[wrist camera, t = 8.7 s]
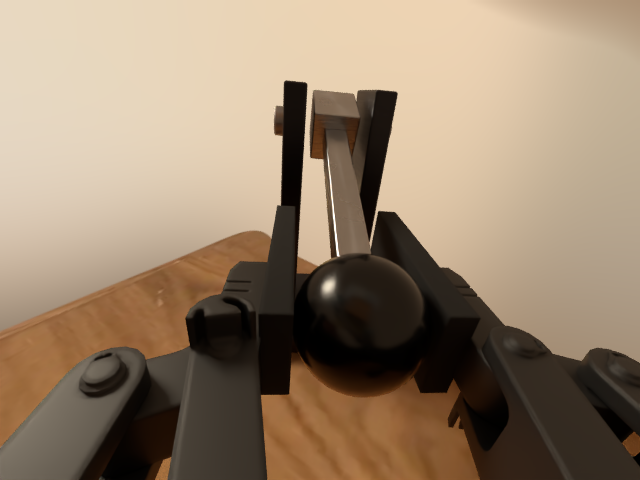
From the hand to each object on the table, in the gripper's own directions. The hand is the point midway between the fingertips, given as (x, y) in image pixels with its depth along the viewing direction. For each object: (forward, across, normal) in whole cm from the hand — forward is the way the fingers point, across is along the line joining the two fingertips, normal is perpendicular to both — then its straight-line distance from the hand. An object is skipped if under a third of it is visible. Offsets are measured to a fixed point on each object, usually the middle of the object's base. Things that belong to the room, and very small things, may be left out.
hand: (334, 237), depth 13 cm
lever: (0, 0, +1) cm, 1 cm away
